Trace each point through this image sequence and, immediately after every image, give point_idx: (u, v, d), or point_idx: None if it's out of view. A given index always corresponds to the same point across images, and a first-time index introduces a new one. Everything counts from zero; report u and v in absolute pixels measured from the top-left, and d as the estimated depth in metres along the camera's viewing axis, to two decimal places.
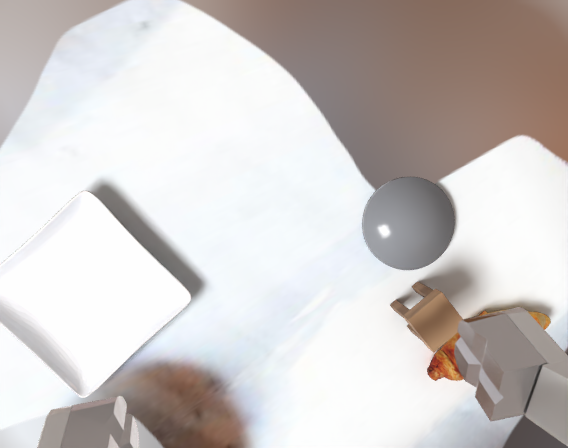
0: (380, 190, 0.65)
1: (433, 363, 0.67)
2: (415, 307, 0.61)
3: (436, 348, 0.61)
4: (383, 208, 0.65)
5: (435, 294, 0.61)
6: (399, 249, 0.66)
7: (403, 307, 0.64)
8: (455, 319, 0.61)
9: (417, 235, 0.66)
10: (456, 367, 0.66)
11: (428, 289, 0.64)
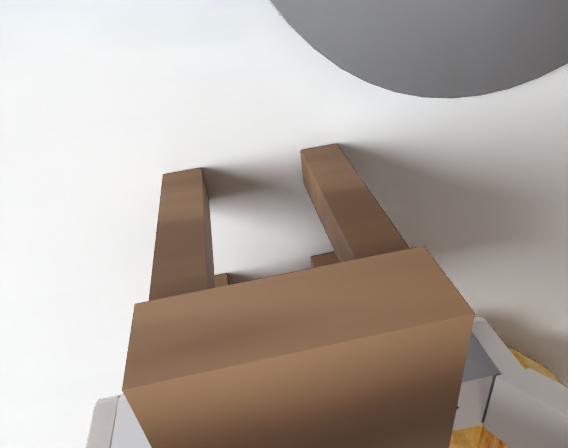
0: None
1: None
2: (241, 300, 0.08)
3: None
4: None
5: (419, 297, 0.08)
6: None
7: (193, 235, 0.11)
8: None
9: None
10: None
11: (374, 218, 0.11)
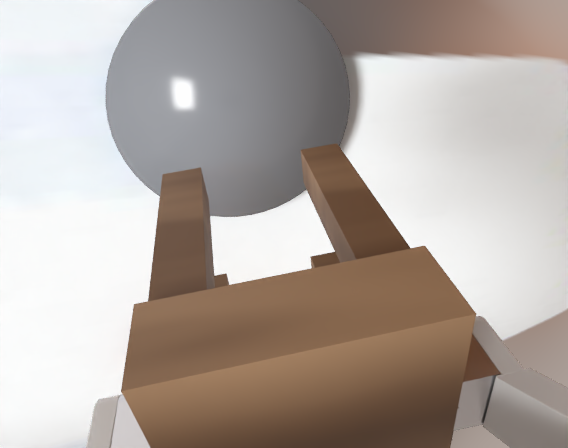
0: None
1: None
2: (241, 301, 0.08)
3: None
4: (186, 39, 0.23)
5: (420, 298, 0.08)
6: (180, 156, 0.27)
7: (193, 235, 0.11)
8: None
9: (237, 149, 0.27)
10: None
11: (374, 217, 0.11)
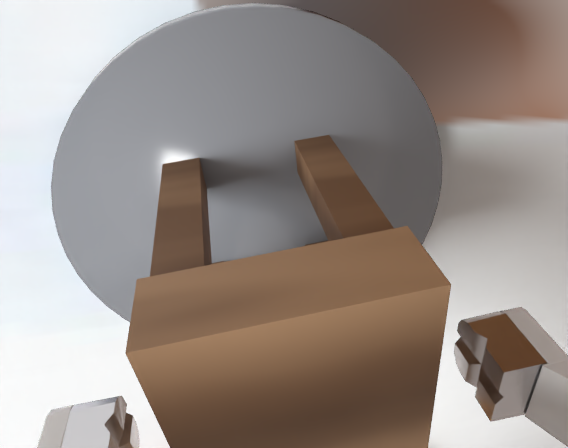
0: (212, 21, 0.12)
1: None
2: (236, 275, 0.09)
3: None
4: (186, 110, 0.14)
5: (401, 271, 0.09)
6: None
7: (191, 219, 0.11)
8: (399, 425, 0.11)
9: None
10: None
11: (362, 202, 0.11)
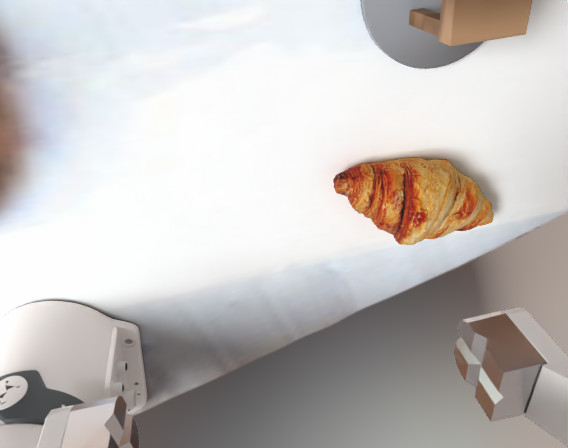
0: None
1: (351, 172, 0.45)
2: None
3: (459, 42, 0.33)
4: None
5: None
6: (401, 16, 0.39)
7: None
8: (519, 11, 0.32)
9: (438, 12, 0.39)
10: (373, 194, 0.45)
11: None
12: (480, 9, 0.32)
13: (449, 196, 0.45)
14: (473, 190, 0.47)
